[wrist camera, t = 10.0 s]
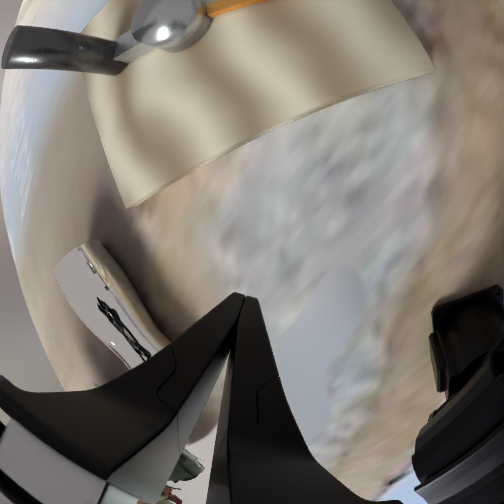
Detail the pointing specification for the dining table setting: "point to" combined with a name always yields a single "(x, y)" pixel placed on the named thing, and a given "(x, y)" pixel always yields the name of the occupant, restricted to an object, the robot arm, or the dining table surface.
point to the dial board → (240, 81)
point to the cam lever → (122, 48)
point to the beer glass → (108, 303)
